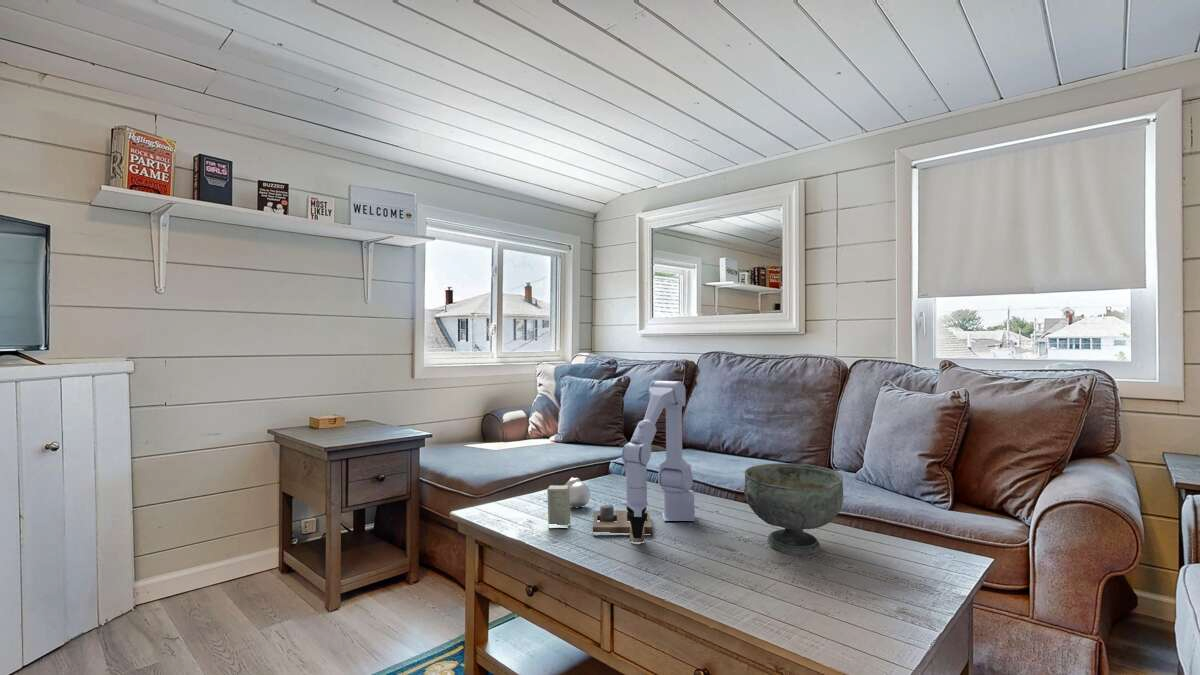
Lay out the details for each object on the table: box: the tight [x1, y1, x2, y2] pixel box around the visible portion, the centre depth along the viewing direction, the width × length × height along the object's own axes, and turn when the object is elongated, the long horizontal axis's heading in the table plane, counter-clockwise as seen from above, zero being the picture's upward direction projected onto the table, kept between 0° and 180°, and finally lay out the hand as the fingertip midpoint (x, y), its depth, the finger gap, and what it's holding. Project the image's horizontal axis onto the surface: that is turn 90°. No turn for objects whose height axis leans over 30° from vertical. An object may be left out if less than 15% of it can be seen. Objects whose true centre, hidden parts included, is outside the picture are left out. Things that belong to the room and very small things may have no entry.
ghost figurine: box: [564, 477, 591, 508], centre depth 192 cm, size 9×10×10 cm
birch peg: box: [629, 523, 645, 542], centre depth 159 cm, size 4×4×6 cm
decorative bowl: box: [743, 462, 844, 556], centre depth 154 cm, size 26×26×20 cm
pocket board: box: [592, 504, 653, 535], centre depth 172 cm, size 17×16×6 cm
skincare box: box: [546, 484, 571, 525], centre depth 173 cm, size 6×4×12 cm
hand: (637, 535), depth 159 cm, fingers closed on birch peg, 4 cm apart
